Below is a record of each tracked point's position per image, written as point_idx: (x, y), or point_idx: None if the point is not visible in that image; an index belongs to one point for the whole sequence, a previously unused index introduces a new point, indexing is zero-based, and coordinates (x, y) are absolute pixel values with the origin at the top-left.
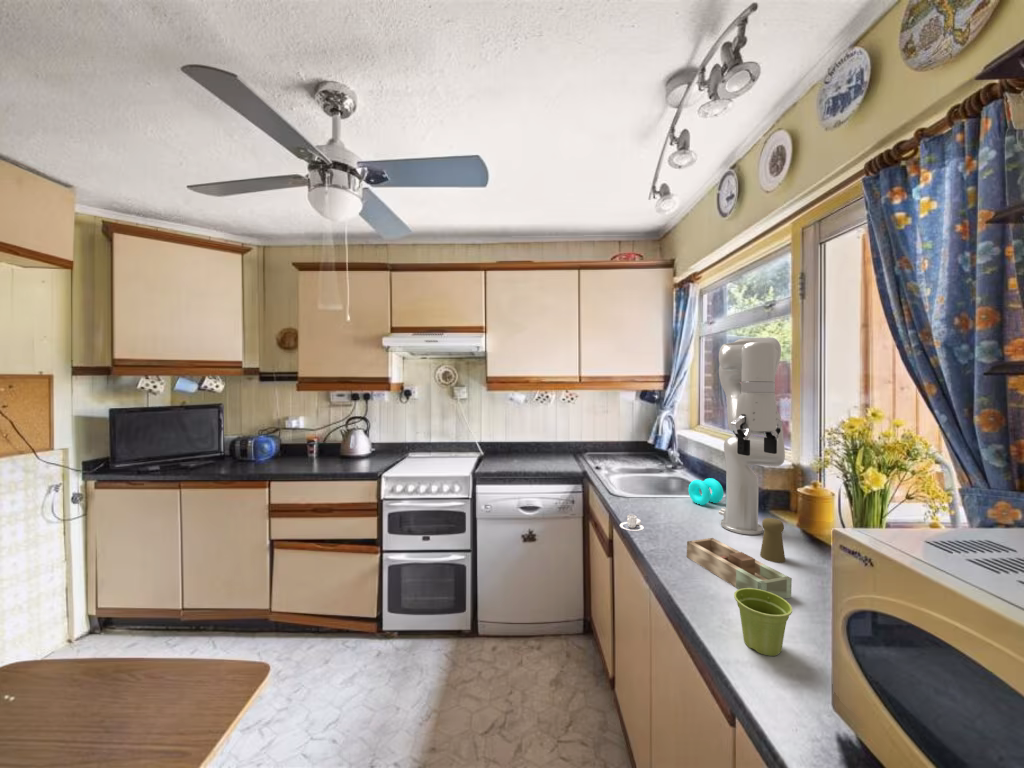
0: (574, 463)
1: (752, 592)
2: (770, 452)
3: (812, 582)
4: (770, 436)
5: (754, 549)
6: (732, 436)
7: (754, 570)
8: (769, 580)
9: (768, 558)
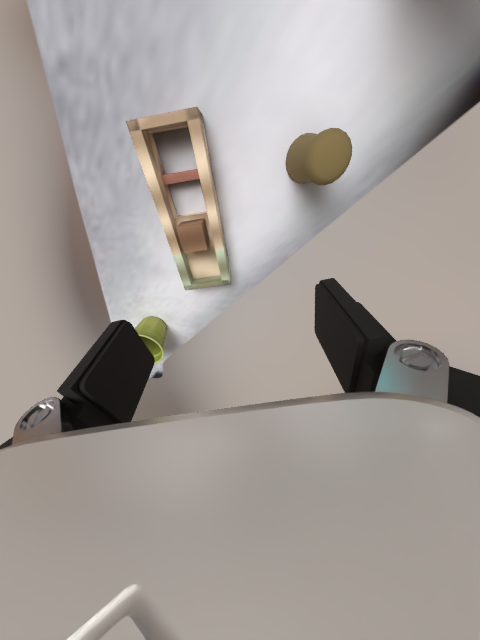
0: None
1: (143, 334)
2: (315, 317)
3: (286, 248)
4: (367, 391)
5: (305, 107)
6: None
7: (209, 243)
8: (199, 285)
9: (288, 171)
